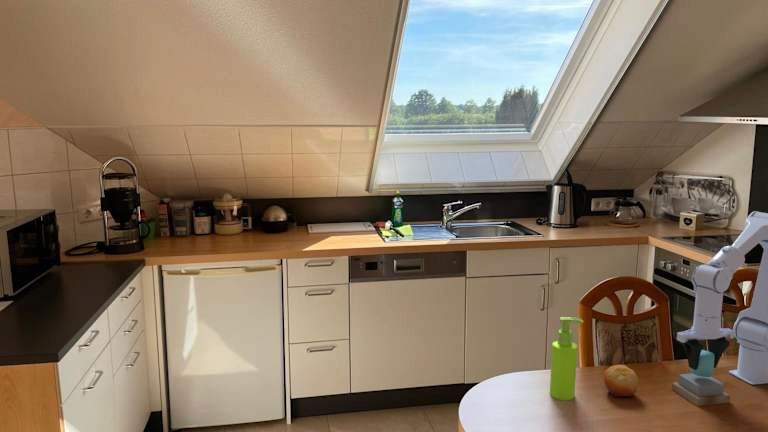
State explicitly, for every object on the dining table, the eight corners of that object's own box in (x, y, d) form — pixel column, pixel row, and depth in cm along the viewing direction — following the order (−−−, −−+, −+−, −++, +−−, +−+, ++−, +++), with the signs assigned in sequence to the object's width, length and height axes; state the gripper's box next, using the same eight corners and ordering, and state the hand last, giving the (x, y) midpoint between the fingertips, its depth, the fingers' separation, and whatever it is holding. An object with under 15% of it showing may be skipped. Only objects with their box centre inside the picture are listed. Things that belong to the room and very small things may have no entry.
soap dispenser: (580, 401, 143) (584, 323, 140) (550, 399, 145) (554, 321, 141) (577, 391, 149) (581, 315, 146) (549, 388, 150) (552, 313, 147)
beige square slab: (702, 388, 152) (703, 379, 152) (729, 404, 143) (730, 395, 143) (671, 391, 150) (672, 382, 150) (696, 408, 142) (697, 398, 141)
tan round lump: (629, 378, 153) (636, 360, 148) (636, 405, 147) (644, 387, 142) (597, 377, 154) (603, 358, 149) (603, 404, 148) (609, 385, 143)
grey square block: (702, 381, 150) (703, 372, 150) (723, 393, 144) (724, 384, 143) (678, 383, 149) (679, 374, 149) (698, 396, 142) (698, 386, 142)
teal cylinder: (703, 367, 149) (704, 348, 148) (717, 375, 144) (719, 356, 143) (685, 369, 148) (687, 350, 147) (700, 377, 143) (701, 358, 142)
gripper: (720, 307, 149) (715, 358, 151) (670, 311, 146) (665, 363, 148) (743, 316, 142) (737, 369, 144) (690, 320, 139) (685, 374, 141)
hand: (702, 367), depth 146 cm, fingers closed on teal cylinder, 5 cm apart
